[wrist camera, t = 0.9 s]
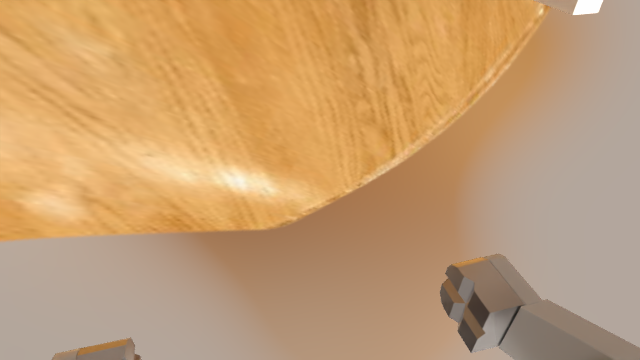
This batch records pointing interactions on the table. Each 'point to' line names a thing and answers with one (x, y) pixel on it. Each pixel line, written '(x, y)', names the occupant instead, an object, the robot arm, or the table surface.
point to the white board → (574, 5)
